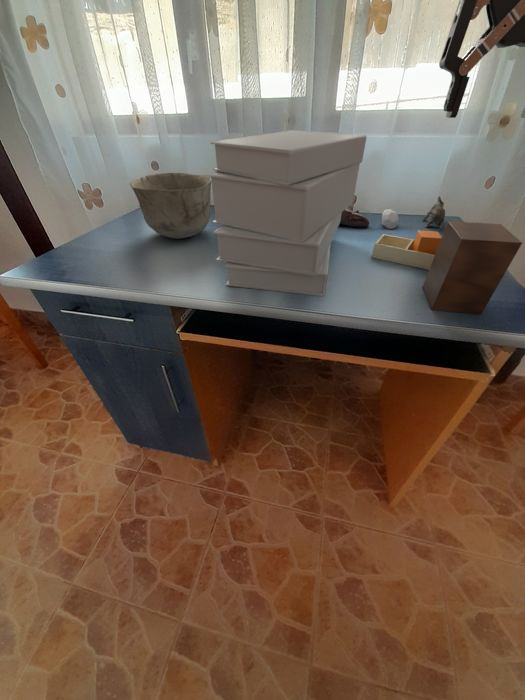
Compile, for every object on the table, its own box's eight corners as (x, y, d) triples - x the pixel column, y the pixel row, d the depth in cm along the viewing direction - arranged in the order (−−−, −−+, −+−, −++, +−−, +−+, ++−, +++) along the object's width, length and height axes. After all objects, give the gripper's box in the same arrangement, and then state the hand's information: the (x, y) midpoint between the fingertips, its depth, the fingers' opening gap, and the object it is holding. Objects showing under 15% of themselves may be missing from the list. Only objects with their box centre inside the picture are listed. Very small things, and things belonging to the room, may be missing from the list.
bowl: (167, 220, 100) (157, 169, 90) (228, 226, 96) (223, 173, 86) (128, 245, 85) (110, 186, 75) (198, 253, 80) (189, 192, 70)
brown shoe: (324, 229, 100) (346, 206, 99) (351, 245, 94) (375, 221, 94) (321, 215, 94) (344, 191, 94) (349, 232, 88) (374, 206, 88)
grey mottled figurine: (421, 219, 99) (429, 194, 94) (440, 220, 97) (450, 196, 92) (421, 231, 90) (430, 205, 86) (442, 233, 89) (453, 206, 84)
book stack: (345, 238, 87) (364, 129, 70) (345, 301, 61) (375, 153, 44) (245, 231, 91) (241, 128, 74) (206, 287, 66) (185, 149, 49)
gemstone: (386, 211, 96) (397, 204, 91) (392, 229, 97) (404, 223, 92) (371, 217, 95) (381, 210, 90) (378, 236, 95) (388, 230, 90)
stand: (466, 291, 63) (500, 224, 54) (481, 314, 57) (522, 242, 48) (422, 287, 65) (447, 221, 56) (431, 310, 58) (462, 239, 49)
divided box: (468, 278, 68) (475, 263, 65) (371, 257, 77) (374, 243, 74) (471, 265, 73) (478, 251, 70) (379, 247, 82) (383, 233, 79)
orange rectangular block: (428, 255, 75) (437, 231, 72) (432, 262, 72) (442, 238, 68) (410, 254, 76) (417, 230, 72) (413, 261, 73) (421, 237, 69)
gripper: (507, -134, 24) (432, 120, 35) (722, -160, 22) (572, 120, 32) (476, -92, 29) (420, 115, 40) (645, -110, 27) (538, 115, 38)
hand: (488, 117), depth 36 cm, fingers open, 8 cm apart
